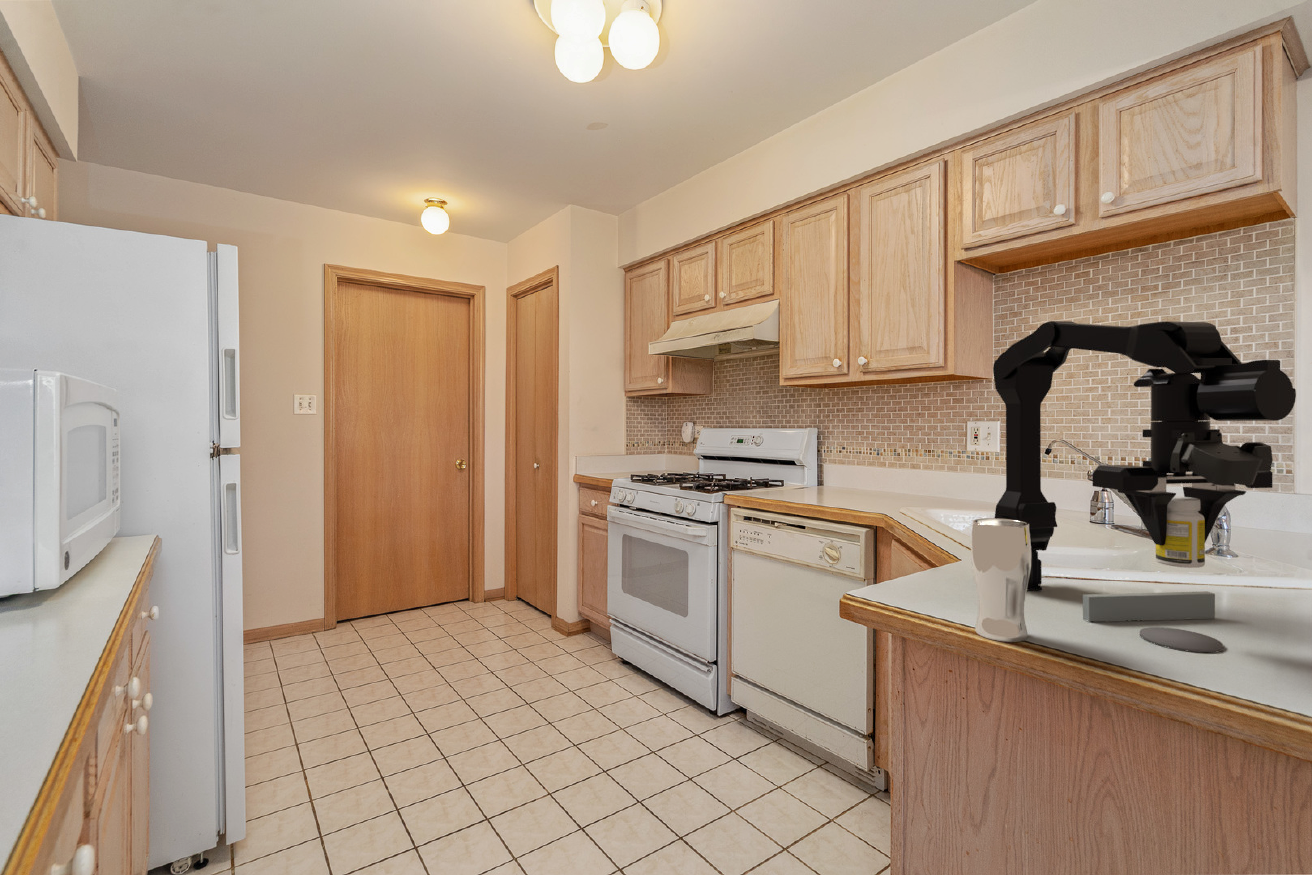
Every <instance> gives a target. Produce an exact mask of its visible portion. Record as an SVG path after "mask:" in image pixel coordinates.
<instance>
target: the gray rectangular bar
mask: <svg viewBox="0 0 1312 875" xmlns="http://www.w3.org/2000/svg"><path fill="white" fill-rule="evenodd" d="M1215 610H1216V593H1213V592H1210V591H1177V592H1176V591H1173V592H1166V591H1165V592H1136V593H1135V592H1133V593H1099V594H1091V593H1089V594H1082V620H1084V621H1086V620H1088V621H1105V622H1131V620H1137V622H1138V621H1140V620H1142V621H1171V620H1174V621H1175V620H1207V619H1208V620H1210V619H1213V620H1214V619H1216V611H1215ZM1126 620H1128V621H1126ZM1088 621H1087V622H1088Z"/></svg>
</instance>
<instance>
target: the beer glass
mask: <svg viewBox="0 0 1312 875" xmlns="http://www.w3.org/2000/svg"><path fill="white" fill-rule="evenodd" d="M970 542H971V543H970V544H971V545H970V556H971V559H970V560H971V568H972V573H973V580H974V584H975V590H976V594H977V603H978V605H977V606H978V612H977V617H976V623H975V628H974V629H975V633H977V635H979V636H980V637H982V638H986V639H988V640H992V641H998V642H1004V643H1019V642H1024V641H1026V640H1027V639H1028V638H1029V636H1028V635H1029V634H1028V630H1027V625H1026V621H1025V620H1026V619H1025V602H1026V596H1027V592H1028V590H1027V587H1028V582H1029V577H1030V570H1031V541H1030V532H1029V523H1027V522H1024V521H1018V520H1011V519H996V518H995V517H994V518H976V519H973V520H972V530H971V540H970Z"/></svg>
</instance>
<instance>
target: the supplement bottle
mask: <svg viewBox="0 0 1312 875" xmlns="http://www.w3.org/2000/svg"><path fill="white" fill-rule="evenodd" d="M1198 511H1200V499H1197V498H1191V497H1184V496H1176V495H1175V496H1174V497H1173V499H1172V500H1171V501H1170V502H1169V503H1168V505H1167V532H1166V540H1165V545H1157V544H1155V562H1157V563H1158V564H1162V565H1166V566H1169V567H1176V568H1187V569H1190V568H1191V569H1194V568H1195V569H1197V568H1202V567H1203V568H1204V567H1205V566H1206V565H1205V564H1206V550H1205V549H1206V548H1205V547H1206V546H1205V545H1206V542H1205V519H1204V516H1203V515H1202V514H1200V513H1198Z"/></svg>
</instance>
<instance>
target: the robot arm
mask: <svg viewBox="0 0 1312 875" xmlns="http://www.w3.org/2000/svg"><path fill="white" fill-rule="evenodd" d="M1071 349H1076V350H1083V351H1084V350H1086V351H1093V352H1101V353H1102V352H1103V353H1111V354H1120V355H1123V356H1125V357H1127V358H1129V359H1130V360H1132V361H1135V362H1137V363H1141V364H1144V365H1147V366H1151V367H1154V368H1149V369H1147V371H1146V372H1145V373H1144V374H1143V375H1142V376H1140V377H1139V378H1138V379H1137V380H1135V381H1134V382H1133V386H1134V387H1135V388H1150V429H1147V428H1146V429H1145V428H1144V429H1142V438H1150V460H1142V465H1141V466H1139V465H1130V464H1112V465H1111V464H1106V465H1105V464H1100V465H1098V466H1097V467H1096V468H1095V469H1094V470H1093V472H1092V487H1096V488H1103V489H1110V490H1116V491H1117V493H1119V494H1124V496H1125V497H1126V498H1127V500H1128V501H1129V503H1130V505H1131V506H1132V507H1133V508H1134V509H1135V511H1136V513H1137V514H1138V516H1139V519H1140V520H1141V521H1142V523H1143V525H1144V527H1145V529H1146V530H1147V532H1148V533H1149V536H1150V538H1151V539H1152V542H1153V543H1154V544H1155V545H1156V544H1157V545H1165V540H1166V532H1167V505H1168V503H1169V502H1170V501H1171V500H1172V499H1173V497H1174V496H1176V495H1177V493H1176V492H1171V491H1167V485H1169V484H1172V485H1173V484H1174V485H1175V484H1180V485H1181V484H1192V486H1183V487H1182V490H1183V497H1191V498H1197V499H1200V511H1198V513H1200V514H1202V515H1203V516H1204V519H1205V543H1206V542H1207V540H1208V538H1209V536H1210V533H1211V532H1212V530H1213V527H1214V525H1215V523H1216V521H1217V519H1218V517H1219V515H1220V513H1221V511H1222V510H1223V509H1224V507H1225V506H1226V504H1228V503H1229V502H1230V501H1232V500H1233V499H1235V498H1237V497H1239V496H1244V495H1245V494H1246V493H1247V491H1246V490H1240V489H1237V487H1236V486H1237V485H1240V486H1245V487H1246V488H1247V489H1272V488H1273V472H1272V463H1273V452H1272V445H1269V444H1266V443H1264V442H1260V441H1254V442H1253V441H1250V442H1244V443H1242V445H1241V446H1240V445H1229V444H1227V443H1223V434H1222V431H1221V430H1220V429H1219V428H1218V429H1216V428H1214V429H1213V428H1211V419H1212V420H1215V421H1216V422H1217V421H1218V422H1237V421H1238V422H1243V421H1244V422H1254V421H1255V422H1264V421H1265V422H1270V421H1271V422H1273V421H1276V422H1277V421H1280V420H1283V419H1285V418H1286V417H1288V415H1289V414H1290V413H1291V412H1292V411H1293V409H1294V406H1295V403H1296V399H1297V398H1296V397H1297V391H1296V388H1294V387H1293V382H1292V380H1291V379H1290V377H1289V376H1288V375H1287V374H1286V373H1285V371H1282V370H1281V361H1280V360H1279V359H1255V360H1251V361H1248V362H1243V363H1242V361H1241V360H1240V359H1239V358H1238V357H1237V356H1236V355H1235V354H1234V352H1232V350H1231V349H1230V348H1229V347H1228V346H1227V344H1225V342H1224V341H1223V340H1222V336H1221V335H1220V331H1219V330H1218V329H1217V326H1216V325H1214V324H1213V323H1210V322H1207V321H1170V320H1169V321H1168V320H1167V321H1156V322H1148V323H1147V322H1146V323H1141V324H1136V325H1132V326H1127V325H1126V326H1125V325H1107V324H1095V323H1094V324H1092V323H1077V322H1074V321H1068V320H1067V321H1063V320H1060V321H1058V320H1050V321H1047V322H1045V323H1044V322H1043V323H1042V324H1041V325H1039V326H1038V327H1037V329H1036V330H1034V331H1033V332H1032V333H1031V334H1029V335H1027V336H1025V337H1024V338H1022V339H1020V340H1018V341H1016V342H1015V343H1013V344H1011V345H1010V346H1009V347H1008V348H1007V349H1006V350H1005V351H1004V352H1002V353H1001V354H1000V355H999V356H998V358H997V359H996V360H994V363H993V368H992V371H993V378H994V379H993V381H994V388H995V391H996V392H997V393H998V395H999V397H1000V398H1001V400H1002V401H1003V403H1004V404H1005V478H1006V480H1005V485H1006V486H1005V491H1004V492H1003V495H1001V497H1000V499H999V500H998V502H997V503H996V506H995V511H994V512H995V513H994V518H996V519H1011V520H1018V521H1024V522H1027V523H1029V532H1030V541H1031V570H1030V577H1029V582H1028V587H1027V591H1043V586H1042V583H1043V582H1042V578H1043V577H1042V560H1041V559H1039V551H1043V552H1044V551H1047V549H1048V545H1049V542H1050V540H1051V538H1052V537H1053V535H1054V532H1055V528H1057V527H1058V523H1057V521H1056V514H1057V506H1056V503H1055V502H1054V501H1050V502H1049V501H1048V500H1047V498H1046V496H1045V495H1044V493H1043V492H1042V489H1041V488H1042V487H1041V486H1042V484H1041V482H1042V479H1041V476H1042V475H1041V474H1042V472H1041V471H1042V470H1041V469H1042V468H1041V466H1042V463H1041V462H1042V460H1041V458H1042V457H1041V455H1042V454H1041V453H1042V452H1041V451H1042V450H1041V448H1042V447H1041V442H1042V441H1041V437H1042V436H1041V432H1042V431H1041V426H1042V425H1041V419H1042V418H1041V405H1042V402H1043V400H1045V398H1046V396H1047V394H1048V393H1049V391H1050V390H1051V387H1052V383H1053V376H1054V373H1055V372H1056V371H1057V370H1058V369H1059V368H1060V367H1061V366H1063V365H1064V364H1065V363H1066V362H1067V360H1068V356H1069V352H1070V351H1071ZM1164 368H1166V369H1168V370H1169V371H1171V372H1169V373H1168V372H1167V371H1165V369H1164ZM1195 374H1200V378H1198V376H1196V375H1195Z"/></svg>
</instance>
